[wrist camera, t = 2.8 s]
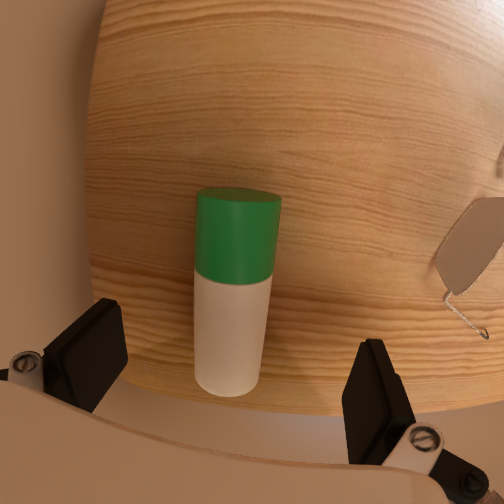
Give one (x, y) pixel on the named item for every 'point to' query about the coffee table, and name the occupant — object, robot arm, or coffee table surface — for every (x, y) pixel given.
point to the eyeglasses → (471, 248)
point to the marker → (232, 285)
